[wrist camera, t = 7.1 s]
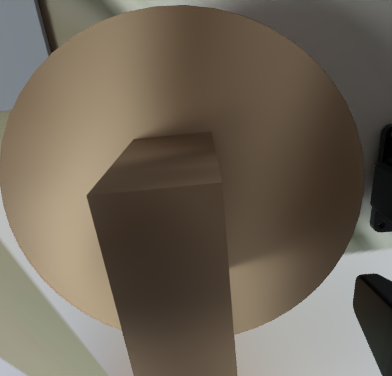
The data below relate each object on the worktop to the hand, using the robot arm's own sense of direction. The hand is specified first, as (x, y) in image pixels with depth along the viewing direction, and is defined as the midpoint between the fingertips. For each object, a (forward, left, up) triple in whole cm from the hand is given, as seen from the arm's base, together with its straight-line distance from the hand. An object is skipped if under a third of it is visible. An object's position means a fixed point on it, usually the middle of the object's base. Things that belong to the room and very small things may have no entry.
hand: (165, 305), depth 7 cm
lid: (0, 0, -6) cm, 6 cm away
